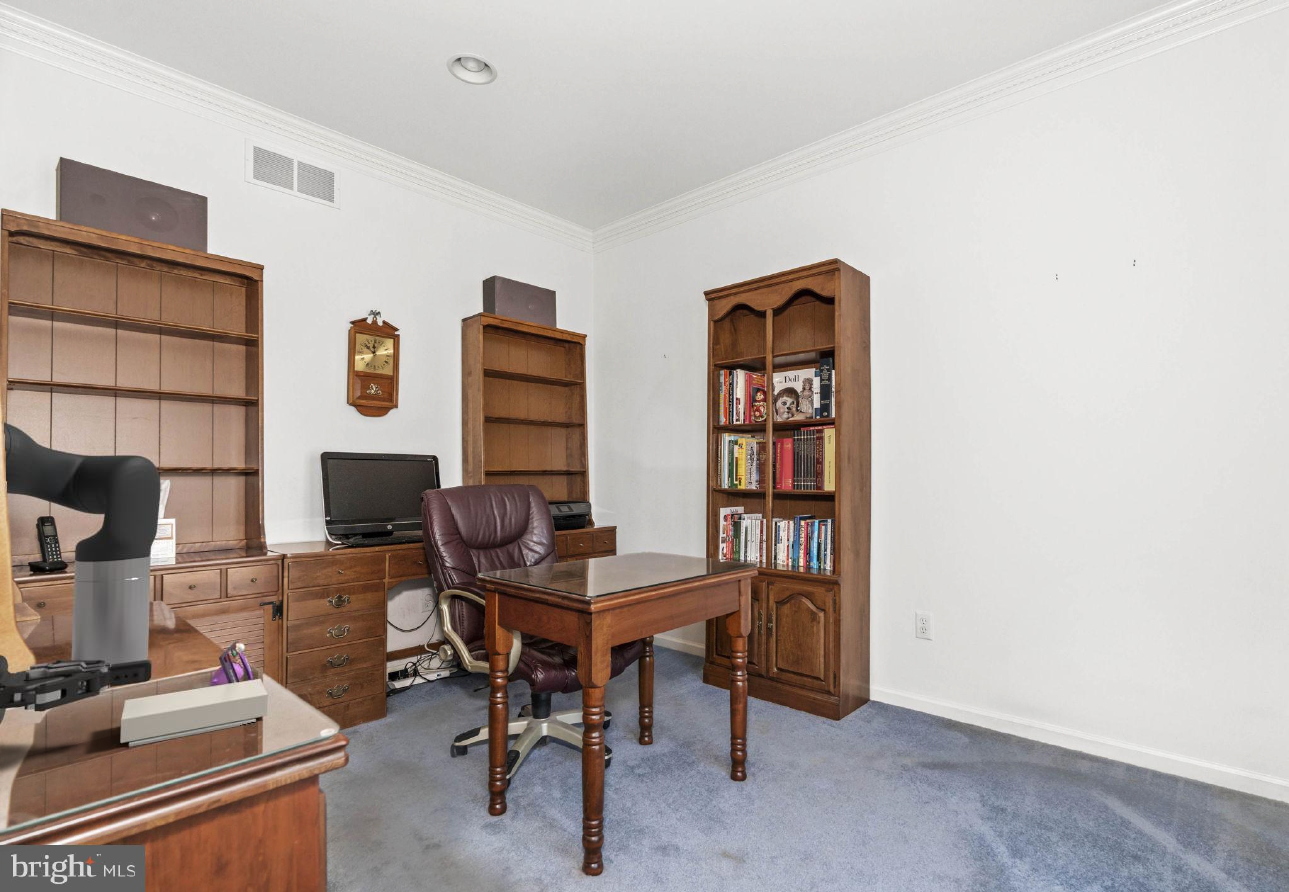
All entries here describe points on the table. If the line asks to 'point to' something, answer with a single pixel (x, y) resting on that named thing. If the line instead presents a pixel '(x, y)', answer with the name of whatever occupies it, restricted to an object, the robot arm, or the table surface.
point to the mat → (190, 732)
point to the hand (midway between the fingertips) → (151, 669)
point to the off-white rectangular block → (192, 709)
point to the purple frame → (231, 667)
